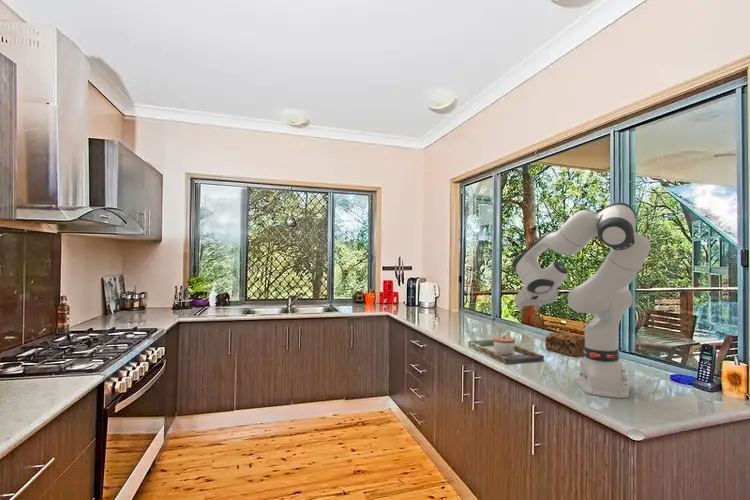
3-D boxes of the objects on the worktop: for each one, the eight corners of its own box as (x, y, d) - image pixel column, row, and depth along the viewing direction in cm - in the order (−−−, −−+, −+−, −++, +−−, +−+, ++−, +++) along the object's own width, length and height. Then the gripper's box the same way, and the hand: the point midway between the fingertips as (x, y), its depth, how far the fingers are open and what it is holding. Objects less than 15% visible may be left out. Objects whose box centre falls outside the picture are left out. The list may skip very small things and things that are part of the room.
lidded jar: (489, 352, 206) (489, 334, 207) (506, 350, 210) (506, 332, 210) (501, 357, 196) (501, 338, 196) (519, 355, 199) (519, 336, 200)
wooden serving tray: (543, 361, 188) (543, 354, 188) (506, 364, 183) (506, 357, 183) (500, 344, 225) (500, 338, 225) (468, 346, 220) (468, 341, 220)
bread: (589, 355, 197) (588, 335, 198) (573, 358, 193) (573, 337, 193) (558, 347, 215) (558, 329, 215) (544, 349, 210) (543, 331, 211)
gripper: (557, 283, 180) (542, 301, 189) (520, 286, 173) (506, 304, 183) (564, 293, 175) (549, 311, 185) (527, 297, 169) (512, 315, 179)
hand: (527, 308), depth 184 cm, fingers open, 8 cm apart
